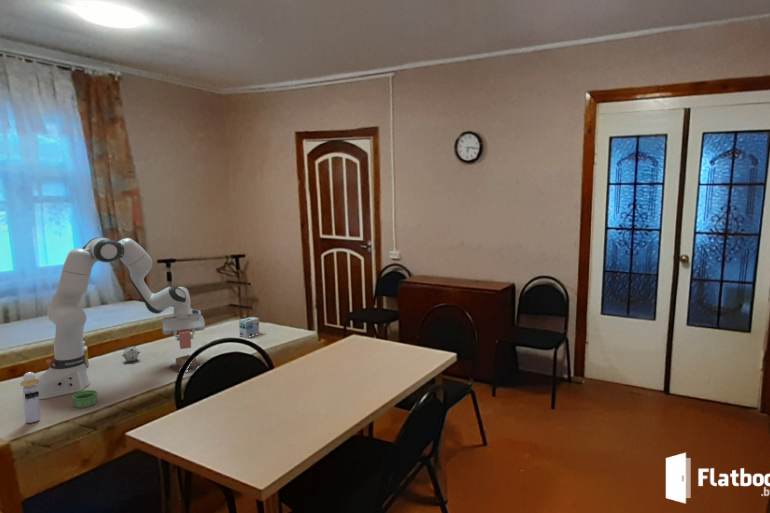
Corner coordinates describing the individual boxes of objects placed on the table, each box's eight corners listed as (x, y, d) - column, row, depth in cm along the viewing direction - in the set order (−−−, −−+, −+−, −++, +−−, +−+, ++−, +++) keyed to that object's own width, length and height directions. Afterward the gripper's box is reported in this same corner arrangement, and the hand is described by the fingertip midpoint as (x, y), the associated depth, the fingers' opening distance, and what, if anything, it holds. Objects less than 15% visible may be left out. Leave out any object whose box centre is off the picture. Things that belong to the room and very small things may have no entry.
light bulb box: (246, 338, 292) (246, 321, 291) (239, 336, 296) (238, 319, 295) (259, 334, 301) (259, 317, 300) (252, 332, 305) (252, 316, 304)
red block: (180, 349, 239) (179, 333, 238) (179, 346, 243) (179, 331, 242) (191, 347, 241) (190, 332, 240) (190, 344, 245) (189, 329, 244)
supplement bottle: (91, 365, 244) (89, 341, 242) (78, 369, 238) (76, 345, 236) (83, 363, 247) (81, 339, 245) (70, 367, 241) (68, 343, 239)
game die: (127, 368, 250) (114, 354, 249) (140, 358, 257) (127, 344, 255) (134, 363, 246) (121, 349, 244) (147, 353, 252) (134, 339, 251)
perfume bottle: (22, 421, 184) (17, 372, 182) (40, 416, 188) (36, 368, 186) (25, 426, 180) (21, 376, 178) (44, 421, 185) (39, 372, 182)
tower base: (180, 373, 235) (180, 363, 234) (168, 367, 242) (168, 358, 242) (203, 367, 244) (203, 357, 244) (191, 361, 252) (190, 352, 251)
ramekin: (101, 403, 201) (100, 394, 200) (76, 411, 194) (76, 400, 194) (94, 397, 207) (93, 388, 206) (70, 404, 200) (69, 394, 199)
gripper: (160, 314, 241) (162, 338, 234) (203, 310, 250) (206, 333, 243) (161, 320, 246) (162, 344, 239) (203, 316, 255) (205, 339, 248)
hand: (185, 339), depth 241 cm, fingers closed on red block, 5 cm apart
